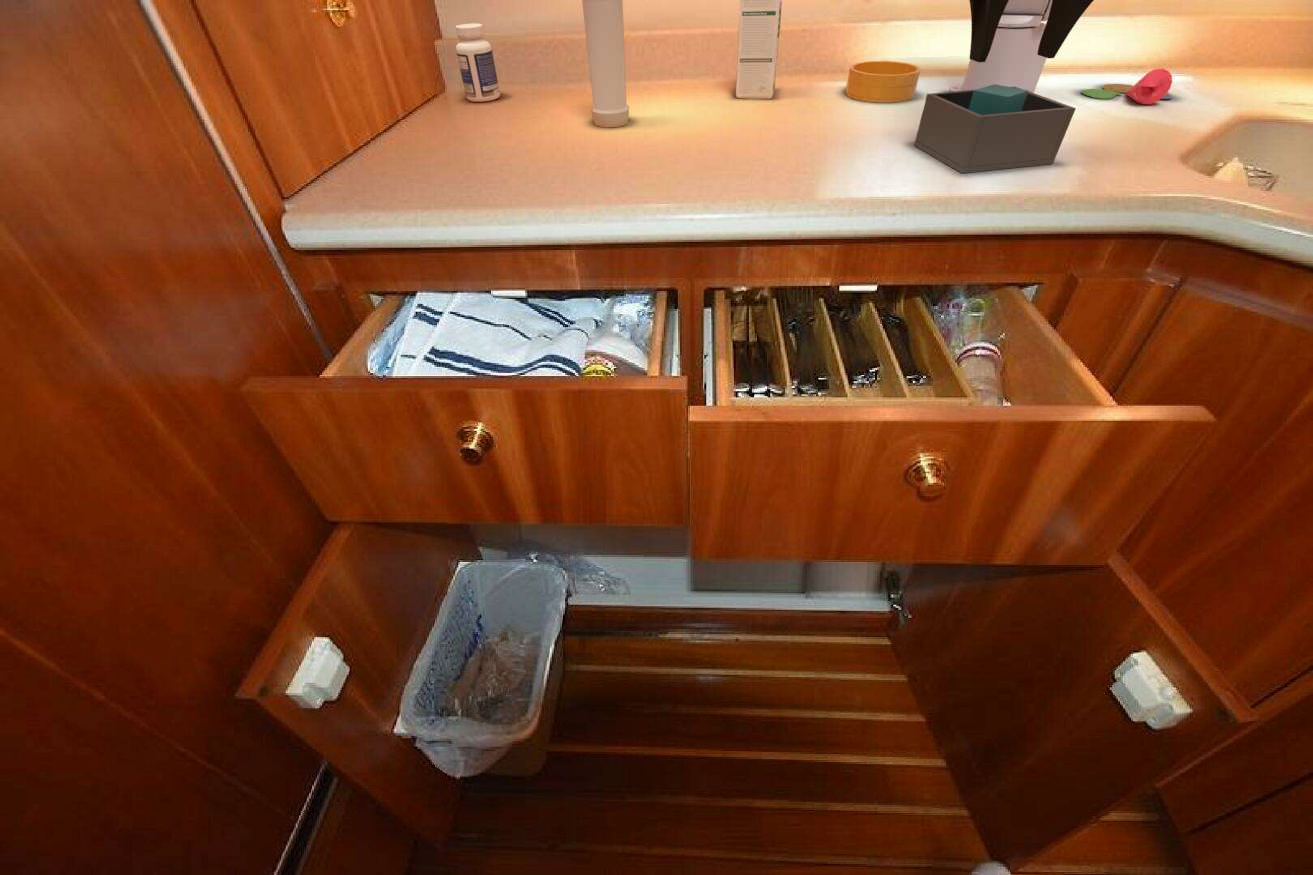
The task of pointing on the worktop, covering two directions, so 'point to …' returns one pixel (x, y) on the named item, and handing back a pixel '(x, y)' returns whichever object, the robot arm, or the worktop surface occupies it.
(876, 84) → the bowl
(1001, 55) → the robot arm
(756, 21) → the syrup box
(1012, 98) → the toy block
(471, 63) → the pill bottle
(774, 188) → the worktop surface
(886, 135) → the worktop surface
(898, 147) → the worktop surface
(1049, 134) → the bin
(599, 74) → the bottle
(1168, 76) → the toy pieces
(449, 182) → the worktop surface
